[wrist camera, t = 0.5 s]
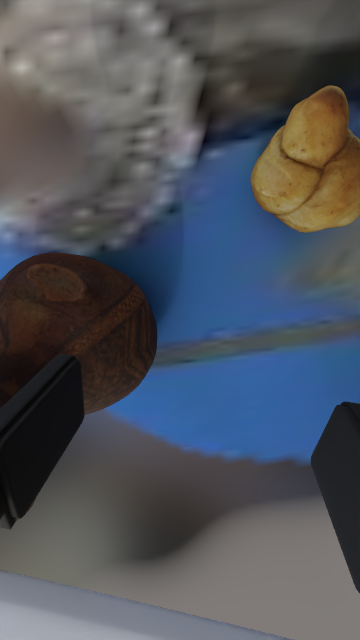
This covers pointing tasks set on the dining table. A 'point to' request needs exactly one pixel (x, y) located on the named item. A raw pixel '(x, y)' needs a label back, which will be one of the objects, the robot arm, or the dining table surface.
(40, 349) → the jug
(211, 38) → the dining table surface
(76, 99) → the dining table surface
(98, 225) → the dining table surface
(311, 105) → the bread roll
